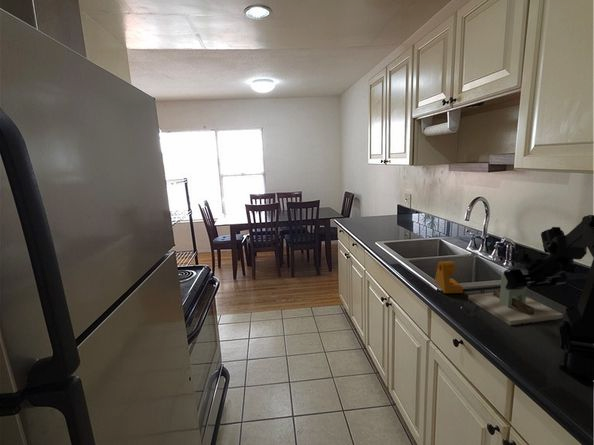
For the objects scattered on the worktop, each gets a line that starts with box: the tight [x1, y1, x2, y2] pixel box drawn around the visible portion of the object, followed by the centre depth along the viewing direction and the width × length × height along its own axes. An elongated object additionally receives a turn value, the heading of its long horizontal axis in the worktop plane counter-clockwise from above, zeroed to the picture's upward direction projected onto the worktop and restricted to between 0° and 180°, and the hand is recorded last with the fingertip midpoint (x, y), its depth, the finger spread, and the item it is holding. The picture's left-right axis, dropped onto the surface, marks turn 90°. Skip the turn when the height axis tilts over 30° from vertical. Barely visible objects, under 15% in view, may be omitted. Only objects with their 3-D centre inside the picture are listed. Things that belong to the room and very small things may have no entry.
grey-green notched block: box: [499, 273, 528, 308], centre depth 113 cm, size 4×6×10 cm, turn 98°
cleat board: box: [467, 289, 564, 326], centre depth 114 cm, size 20×19×4 cm
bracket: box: [434, 260, 464, 294], centre depth 131 cm, size 11×7×12 cm, turn 176°
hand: (518, 287), depth 110 cm, fingers open, 9 cm apart
